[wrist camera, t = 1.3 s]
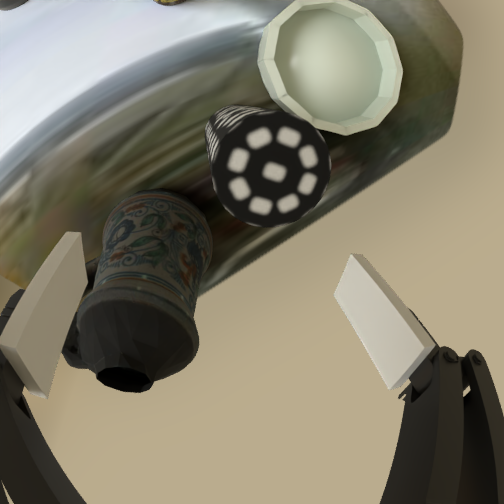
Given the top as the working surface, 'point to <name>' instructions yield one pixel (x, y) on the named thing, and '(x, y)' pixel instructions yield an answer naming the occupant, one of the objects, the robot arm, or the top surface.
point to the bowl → (331, 65)
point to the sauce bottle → (168, 2)
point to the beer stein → (142, 292)
